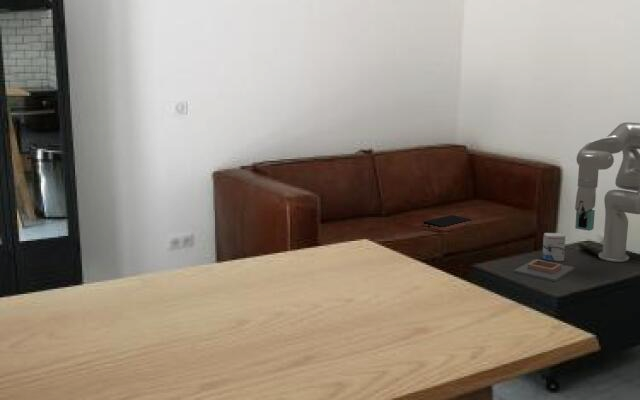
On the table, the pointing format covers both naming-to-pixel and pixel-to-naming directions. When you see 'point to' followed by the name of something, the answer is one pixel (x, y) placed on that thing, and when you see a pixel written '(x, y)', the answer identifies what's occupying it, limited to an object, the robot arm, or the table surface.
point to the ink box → (553, 247)
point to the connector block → (589, 220)
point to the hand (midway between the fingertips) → (584, 225)
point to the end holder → (544, 270)
